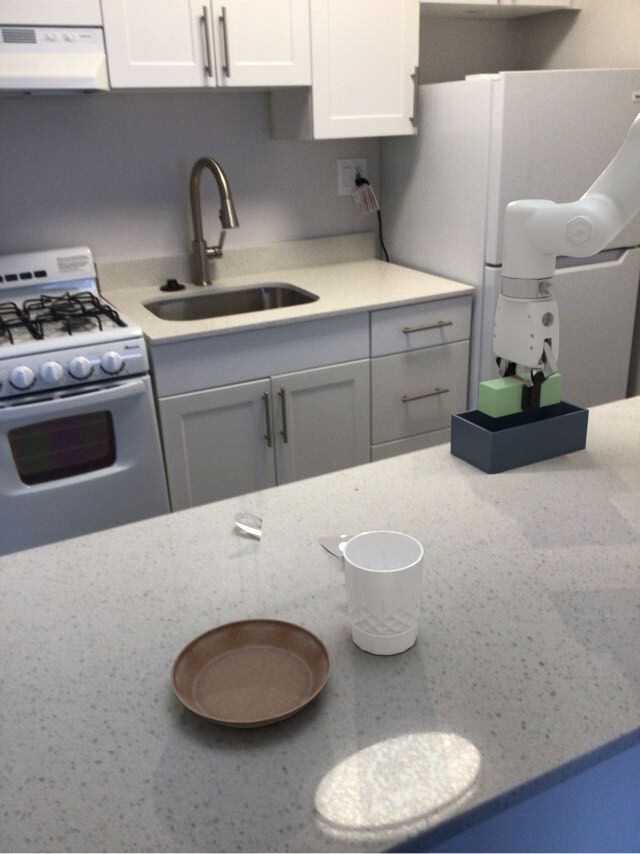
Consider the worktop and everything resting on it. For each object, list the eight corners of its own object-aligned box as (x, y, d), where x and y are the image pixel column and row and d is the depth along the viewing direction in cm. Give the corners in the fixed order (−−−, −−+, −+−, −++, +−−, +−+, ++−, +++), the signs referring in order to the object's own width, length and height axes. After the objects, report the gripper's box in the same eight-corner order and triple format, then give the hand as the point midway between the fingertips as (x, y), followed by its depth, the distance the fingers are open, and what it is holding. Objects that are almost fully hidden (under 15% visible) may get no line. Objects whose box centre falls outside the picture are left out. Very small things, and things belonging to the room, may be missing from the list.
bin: (541, 429, 129) (544, 392, 126) (585, 448, 120) (589, 409, 118) (450, 453, 121) (451, 414, 118) (490, 475, 112) (492, 434, 110)
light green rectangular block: (560, 402, 119) (562, 374, 117) (494, 418, 113) (496, 389, 112) (542, 395, 122) (544, 368, 121) (477, 410, 117) (478, 382, 115)
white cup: (331, 643, 77) (327, 557, 73) (370, 604, 83) (368, 523, 79) (400, 669, 72) (399, 580, 69) (435, 626, 78) (437, 542, 75)
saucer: (265, 620, 81) (263, 599, 80) (365, 687, 70) (364, 663, 69) (143, 688, 71) (139, 664, 70) (237, 775, 61) (234, 749, 60)
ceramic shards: (223, 507, 97) (246, 492, 101) (224, 531, 99) (247, 516, 102) (357, 555, 87) (377, 537, 91) (356, 581, 89) (376, 562, 92)
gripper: (588, 293, 106) (577, 416, 112) (509, 276, 120) (503, 386, 126) (547, 300, 103) (538, 425, 109) (471, 282, 117) (467, 394, 123)
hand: (519, 403), depth 118 cm, fingers closed on light green rectangular block, 4 cm apart
